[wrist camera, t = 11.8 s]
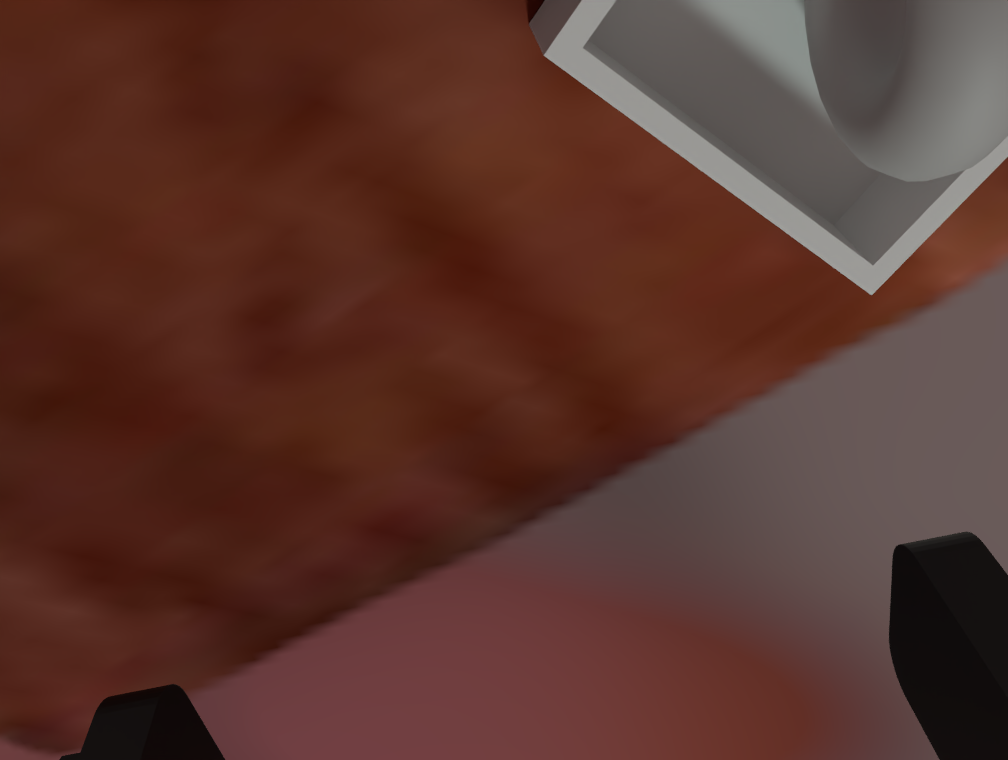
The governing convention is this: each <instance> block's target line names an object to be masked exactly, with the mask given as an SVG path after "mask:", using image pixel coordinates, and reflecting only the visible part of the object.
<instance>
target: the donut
mask: <svg viewBox="0 0 1008 760" xmlns="http://www.w3.org/2000/svg"><path fill="white" fill-rule="evenodd" d="M804 6H805V27H806V34H807V41H808V48H809V55H810V62H811V66H812V70H813V74H814V77H815V81H816V84H817V88H818V92H819V95H820V98H821V101H822V103H823V105H824V108H825V110H826V112H827V114H828V116H829V118H830V120H831V122H832V124H833V126H834V129H835V131H836V133H837V135H838V137H839V138H840V139H841V140H842V141H843V143H844V144H845V145H846V146H847V147H848V148H849V150H850V151H851V152H852V153H853V154H854V155H855V156H856V157H857V158H858V159H859V160H860V161H861V162H862V163H864V164H865V165H866V166H867V167H869V168H871V169H874V170H876V171H879V172H881V173H884V174H886V175H889V176H892V177H895V178H898V179H901V180H904V181H907V182H920V181H929V180H933V179H936V178H940V177H944V176H948V175H951V174H955V173H958V172H960V171H963V170H966V169H969V168H972V167H973V166H975V165H976V164H977V163H979V162H980V161H981V160H983V159H984V158H985V157H986V156H988V155H989V154H990V153H991V152H992V151H993V150H994V149H995V148H996V147H997V146H998V145H999V144H1000V143H1001V142H1002V141H1003V140H1004V139H1005V138H1006V137H1008V0H804Z"/></svg>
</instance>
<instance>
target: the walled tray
mask: <svg viewBox="0 0 1008 760" xmlns="http://www.w3.org/2000/svg"><path fill="white" fill-rule="evenodd" d="M529 26H530V28H531V30H532V32H533V34H534V36H535V38H536V40H537V42H538V45H539V47H540V49H541V51H542V53H543V55H544V56H545V57H547V58H548V59H549V60H551V61H552V62H553V63H555V64H556V65H558V66H559V67H560V68H562V69H563V70H564V71H566V72H567V73H568V74H570V75H571V76H573V77H574V78H575V79H577V80H578V81H579V82H581V83H582V84H583V85H585V86H586V87H588V88H589V89H590V90H592V91H593V92H594V93H596V94H597V95H599V96H600V97H601V98H603V99H604V100H605V101H607V102H608V103H609V104H611V105H612V106H614V107H615V108H616V109H618V110H619V111H620V112H622V113H623V114H624V115H626V116H627V117H629V118H630V119H631V120H633V121H634V122H635V123H637V124H638V125H640V126H641V127H642V128H644V129H645V130H646V131H648V132H649V133H650V134H652V135H653V136H655V137H656V138H657V139H659V140H660V141H661V142H663V143H664V144H666V145H667V146H668V147H670V148H671V149H672V150H674V151H675V152H676V153H678V154H679V155H681V156H682V157H683V158H685V159H686V160H687V161H689V162H690V163H691V164H693V165H694V166H696V167H697V168H698V169H700V170H701V171H702V172H704V173H705V174H707V175H708V176H709V177H711V178H712V179H713V180H715V181H716V182H717V183H719V184H720V185H722V186H723V187H724V188H726V189H727V190H728V191H730V192H731V193H732V194H734V195H735V196H737V197H738V198H739V199H741V200H742V201H743V202H745V203H746V204H748V205H749V206H750V207H752V208H753V209H754V210H756V211H757V212H758V213H760V214H761V215H763V216H764V217H765V218H767V219H768V220H769V221H771V222H772V223H774V224H775V225H776V226H778V227H779V228H780V229H782V230H783V231H784V232H786V233H787V234H789V235H790V236H791V237H793V238H794V239H795V240H797V241H798V242H799V243H801V244H802V245H804V246H805V247H806V248H808V249H809V250H810V251H812V252H813V253H815V254H816V255H817V256H819V257H820V258H821V259H823V260H824V261H825V262H827V263H828V264H830V265H831V266H832V267H834V268H835V269H836V270H838V271H839V272H840V273H842V274H843V275H845V276H846V277H847V278H849V279H850V280H851V281H853V282H854V283H856V284H857V285H858V286H860V287H861V288H862V289H864V290H865V291H866V292H868V293H869V294H871V295H872V294H873V293H874V292H875V291H876V290H877V289H878V288H879V287H880V286H881V285H882V284H883V283H884V282H885V281H886V280H887V279H888V278H889V277H890V276H891V275H892V274H893V273H894V272H895V271H896V270H897V269H898V268H899V267H900V266H901V265H902V264H903V263H904V262H905V261H906V260H907V259H908V258H909V257H910V256H911V255H912V254H913V253H914V252H915V251H916V249H917V248H918V247H919V246H920V245H921V244H922V243H923V242H924V241H925V240H926V239H927V238H928V237H929V236H930V235H931V234H932V233H933V232H934V231H935V230H936V229H937V228H938V227H939V226H940V225H941V224H942V223H943V222H944V221H945V220H946V219H947V218H948V217H949V216H950V215H951V214H952V213H953V212H954V211H955V210H956V209H957V208H958V207H959V206H960V205H961V204H962V203H963V201H964V200H965V199H966V198H967V197H968V196H969V195H970V194H971V193H972V192H973V191H974V190H975V189H976V188H977V187H978V186H979V185H980V184H981V183H982V182H983V181H984V180H985V179H986V178H987V177H988V176H989V175H990V174H991V173H992V172H993V171H994V170H995V169H996V168H997V167H998V166H999V165H1000V164H1001V163H1002V162H1003V161H1004V160H1005V159H1006V158H1007V157H1008V137H1006V138H1005V139H1004V140H1003V141H1002V142H1001V143H1000V144H999V145H998V146H997V147H996V148H995V149H994V150H993V151H992V152H991V153H990V154H989V155H988V156H986V157H985V158H984V159H983V160H981V161H980V162H979V163H977V164H976V165H975V166H973V167H972V168H969V169H966V170H963V171H960V172H958V173H955V174H951V175H948V176H944V177H940V178H936V179H933V180H929V181H920V182H907V181H904V180H901V179H898V178H895V177H892V176H889V175H886V174H884V173H881V172H879V171H876V170H874V169H871V168H869V167H867V166H866V165H865V164H864V163H862V162H861V161H860V160H859V159H858V158H857V157H856V156H855V155H854V154H853V153H852V152H851V151H850V150H849V148H848V147H847V146H846V145H845V144H844V143H843V141H842V140H841V139H840V138H839V137H838V135H837V133H836V131H835V129H834V126H833V124H832V122H831V120H830V118H829V116H828V114H827V112H826V110H825V108H824V105H823V103H822V101H821V98H820V95H819V92H818V88H817V84H816V81H815V77H814V74H813V70H812V66H811V62H810V55H809V48H808V41H807V34H806V27H805V6H804V0H545V1H544V2H543V4H542V5H541V7H540V8H539V10H538V11H537V13H536V14H535V16H534V17H533V19H532V20H531V22H530V23H529Z"/></svg>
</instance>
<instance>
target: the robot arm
mask: <svg viewBox="0 0 1008 760" xmlns="http://www.w3.org/2000/svg"><path fill="white" fill-rule="evenodd" d="M889 644H890V652H891V657H892V661H893V665H894V668H895V672H896V675H897V678H898V680H899V683H900V686H901V688H902V690H903V692H904V695H905V697H906V698H907V700H908V702H909V704H910V706H911V708H912V710H913V711H914V713H915V715H916V717H917V719H918V721H919V723H920V724H921V726H922V728H923V730H924V732H925V734H926V735H927V737H928V739H929V741H930V742H931V744H932V746H933V748H934V750H935V752H936V754H937V756H938V758H939V759H940V760H1008V575H1007V574H1006V572H1005V571H1004V570H1003V568H1002V567H1001V566H1000V564H999V563H998V562H997V560H996V559H995V558H994V556H993V555H992V554H991V553H990V551H989V550H988V549H987V547H986V546H985V545H984V544H983V542H982V541H981V540H980V539H979V538H978V537H977V536H975V535H974V534H972V533H970V532H962V533H957V534H952V535H947V536H942V537H936V538H931V539H927V540H921V541H916V542H911V543H906V544H901V545H898V546H896V548H895V549H894V553H893V561H892V585H891V604H890V625H889ZM60 760H225V758H224V757H223V755H222V753H221V752H220V750H219V748H218V747H217V745H216V743H215V742H214V740H213V738H212V737H211V735H210V733H209V732H208V730H207V728H206V727H205V725H204V723H203V721H202V720H201V718H200V716H199V715H198V713H197V711H196V710H195V708H194V706H193V705H192V703H191V701H190V700H189V698H188V696H187V695H186V693H185V692H184V690H183V689H182V688H181V687H180V686H178V685H175V684H171V685H166V686H161V687H156V688H151V689H146V690H141V691H136V692H130V693H125V694H120V695H115V696H111V697H108V698H106V699H104V700H103V701H102V702H101V704H100V705H99V707H98V708H97V710H96V712H95V715H94V717H93V720H92V723H91V726H90V728H89V731H88V734H87V736H86V739H85V742H84V745H83V747H82V750H81V753H76V754H71V755H65V756H62V757H61V758H60Z"/></svg>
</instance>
